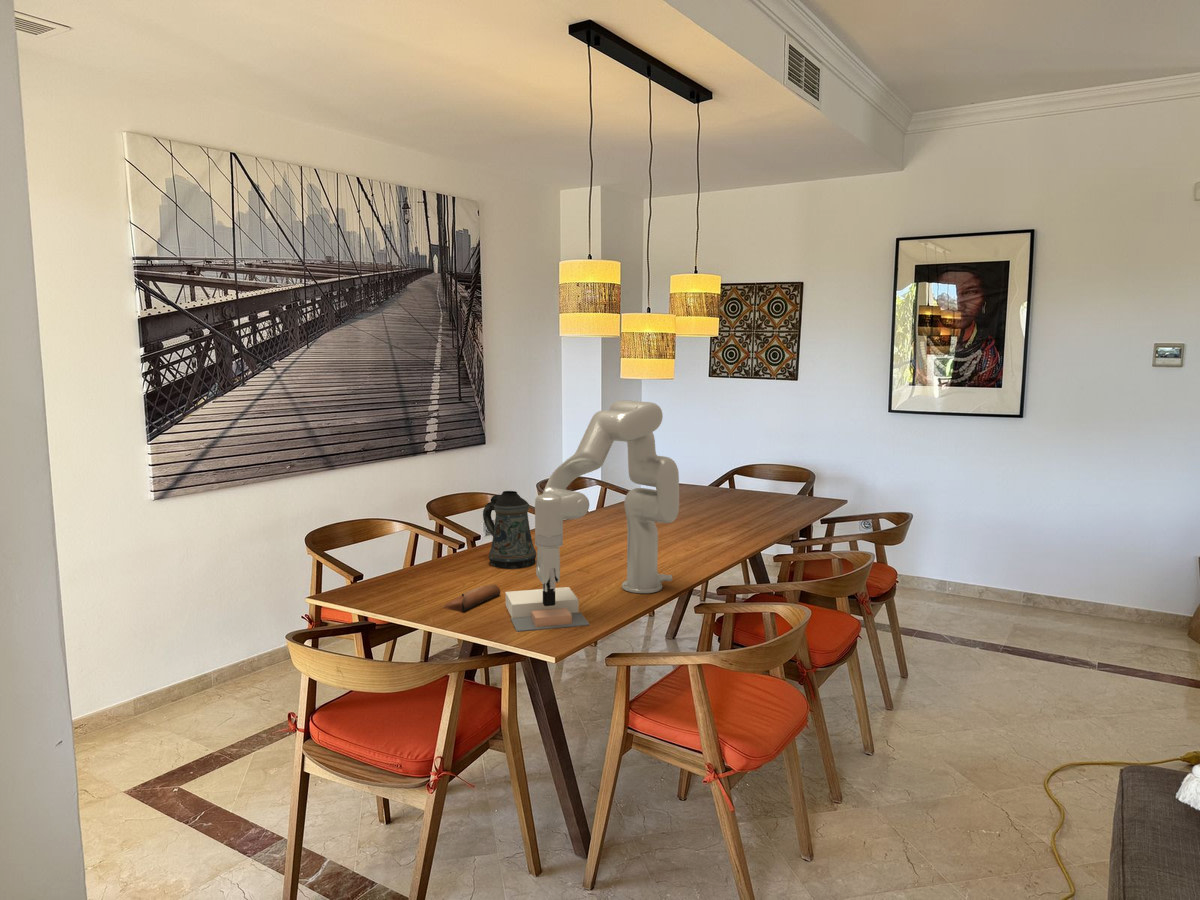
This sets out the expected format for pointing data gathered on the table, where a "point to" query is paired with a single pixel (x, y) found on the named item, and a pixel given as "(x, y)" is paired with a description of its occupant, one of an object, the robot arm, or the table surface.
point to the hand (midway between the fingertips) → (549, 604)
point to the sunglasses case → (473, 598)
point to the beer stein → (509, 532)
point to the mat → (528, 625)
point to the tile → (551, 617)
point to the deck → (539, 601)
